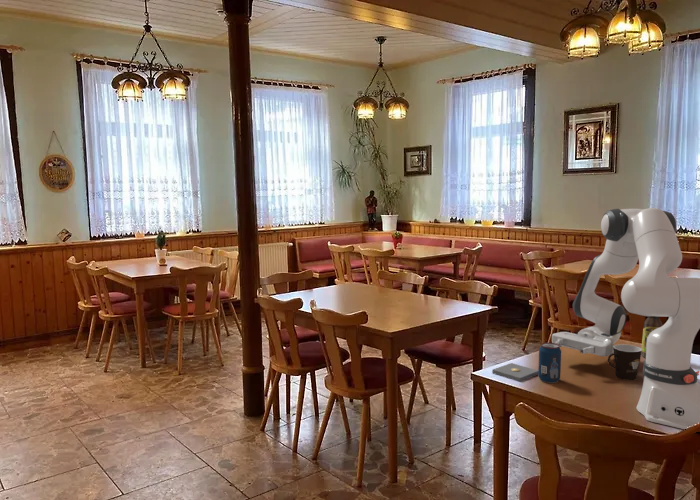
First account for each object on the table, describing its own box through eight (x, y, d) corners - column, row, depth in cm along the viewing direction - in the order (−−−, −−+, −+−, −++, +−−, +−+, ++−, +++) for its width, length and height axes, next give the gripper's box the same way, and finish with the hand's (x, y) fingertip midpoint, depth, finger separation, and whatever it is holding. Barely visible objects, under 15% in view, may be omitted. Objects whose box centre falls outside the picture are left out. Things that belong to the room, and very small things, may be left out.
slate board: (538, 374, 196) (538, 370, 196) (519, 381, 190) (519, 377, 189) (511, 366, 205) (511, 362, 205) (492, 373, 198) (492, 369, 198)
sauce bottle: (642, 358, 212) (645, 306, 209) (640, 354, 217) (642, 302, 215) (661, 360, 209) (664, 307, 207) (659, 355, 215) (662, 303, 213)
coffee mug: (634, 372, 197) (635, 344, 195) (644, 381, 188) (646, 352, 187) (599, 372, 198) (600, 343, 197) (607, 380, 189) (609, 351, 188)
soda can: (545, 375, 195) (546, 340, 194) (564, 380, 190) (565, 345, 189) (533, 379, 191) (534, 344, 190) (552, 385, 186) (554, 349, 184)
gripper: (563, 325, 214) (542, 332, 205) (618, 337, 198) (597, 345, 189) (563, 342, 215) (542, 349, 206) (617, 355, 199) (596, 364, 190)
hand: (569, 347), depth 197 cm, fingers open, 8 cm apart
